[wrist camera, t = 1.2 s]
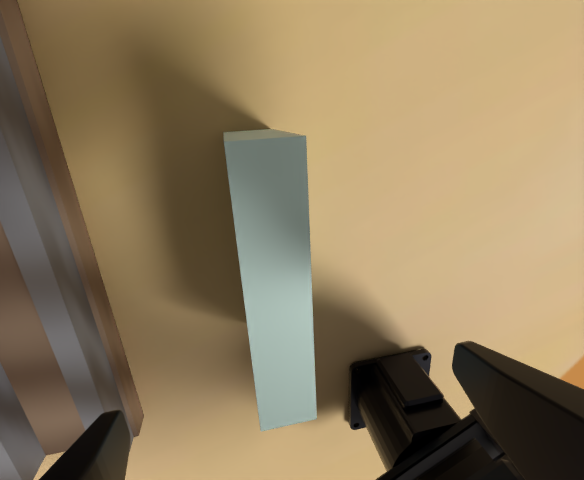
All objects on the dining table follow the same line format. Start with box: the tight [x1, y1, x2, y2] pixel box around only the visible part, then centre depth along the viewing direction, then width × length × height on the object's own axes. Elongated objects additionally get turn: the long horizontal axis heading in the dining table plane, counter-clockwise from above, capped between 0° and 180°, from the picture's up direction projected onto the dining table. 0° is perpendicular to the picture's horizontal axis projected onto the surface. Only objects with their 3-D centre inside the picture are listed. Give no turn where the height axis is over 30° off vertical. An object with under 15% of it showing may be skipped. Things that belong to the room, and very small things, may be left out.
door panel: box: [224, 129, 317, 431], centre depth 15 cm, size 12×2×8 cm, turn 3°
